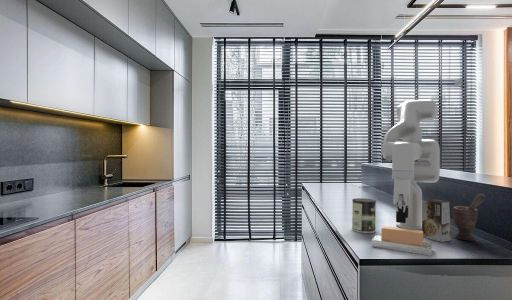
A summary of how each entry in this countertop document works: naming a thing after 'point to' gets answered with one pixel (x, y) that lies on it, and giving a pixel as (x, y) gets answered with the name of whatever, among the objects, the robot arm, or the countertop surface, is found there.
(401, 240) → the orange pronged block
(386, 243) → the flat gray board
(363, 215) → the coffee can
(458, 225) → the mortar and pestle
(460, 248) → the countertop surface
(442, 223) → the coffee box
